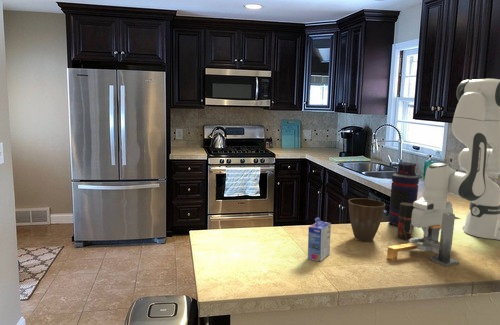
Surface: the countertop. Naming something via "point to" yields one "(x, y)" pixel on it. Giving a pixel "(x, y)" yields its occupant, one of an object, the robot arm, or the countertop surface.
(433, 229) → the grey lidded jar
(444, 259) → the post
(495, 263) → the countertop surface
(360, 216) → the plant pot
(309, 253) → the ink cartridge box
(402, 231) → the deodorant
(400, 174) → the thermos bottle
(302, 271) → the countertop surface
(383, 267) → the countertop surface
